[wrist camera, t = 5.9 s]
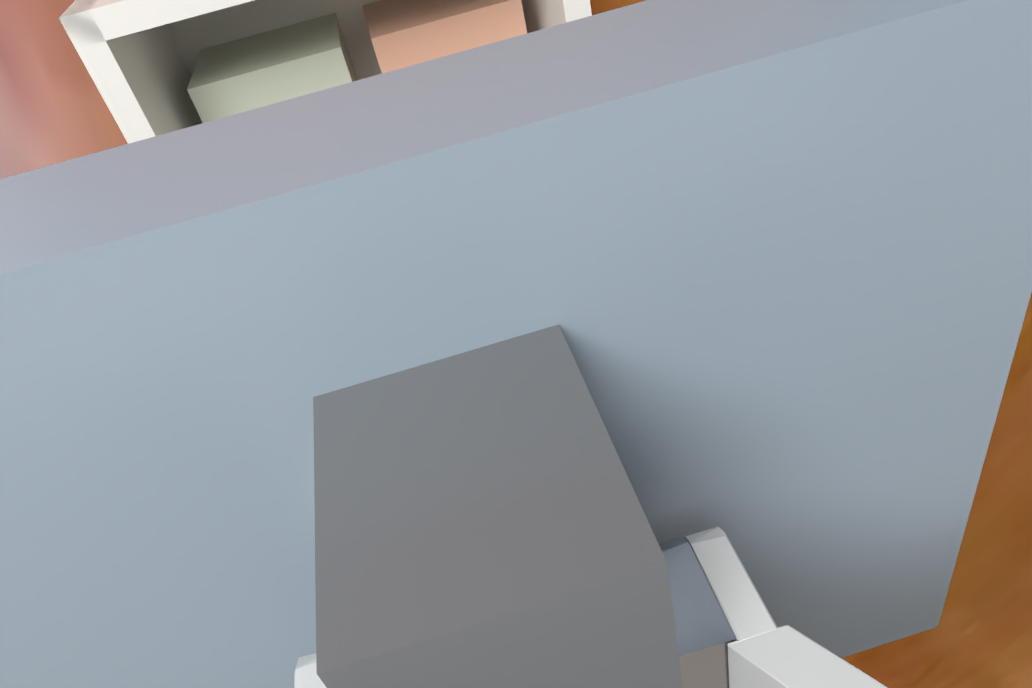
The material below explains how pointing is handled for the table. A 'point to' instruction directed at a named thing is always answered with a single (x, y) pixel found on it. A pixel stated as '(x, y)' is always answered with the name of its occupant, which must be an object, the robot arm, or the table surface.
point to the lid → (519, 353)
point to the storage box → (272, 48)
